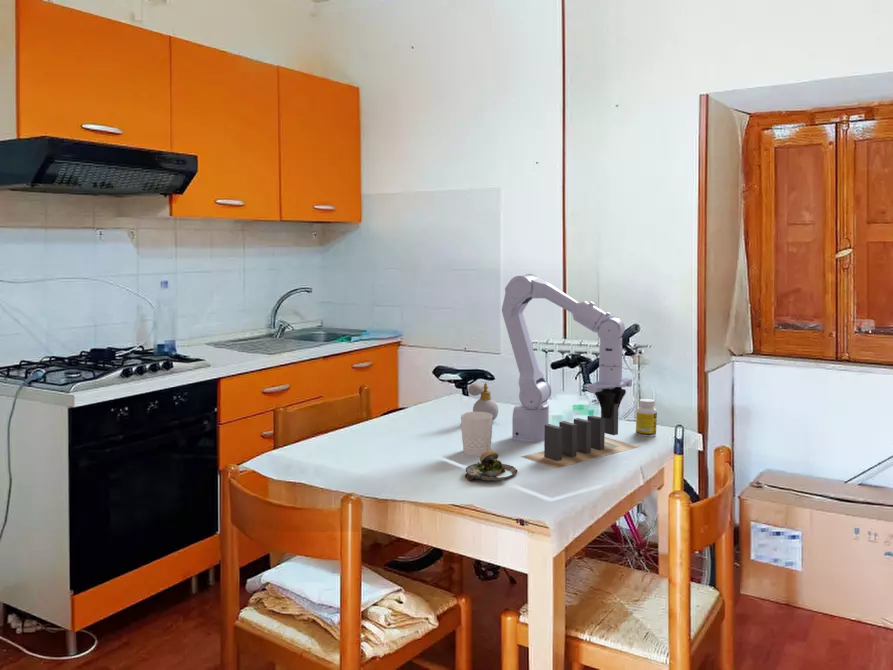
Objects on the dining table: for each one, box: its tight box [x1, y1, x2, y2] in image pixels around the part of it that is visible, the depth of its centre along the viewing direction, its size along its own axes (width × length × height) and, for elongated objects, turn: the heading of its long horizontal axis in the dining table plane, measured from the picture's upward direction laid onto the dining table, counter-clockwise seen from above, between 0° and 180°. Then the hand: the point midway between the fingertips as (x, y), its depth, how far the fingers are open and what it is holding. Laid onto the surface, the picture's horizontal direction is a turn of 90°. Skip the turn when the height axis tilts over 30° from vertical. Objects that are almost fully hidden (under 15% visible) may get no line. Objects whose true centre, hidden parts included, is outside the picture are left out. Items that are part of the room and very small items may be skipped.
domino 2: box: [558, 420, 577, 457], centre depth 191 cm, size 2×4×8 cm, turn 36°
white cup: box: [460, 411, 493, 457], centre depth 194 cm, size 8×8×10 cm
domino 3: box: [573, 417, 591, 454], centre depth 194 cm, size 2×4×8 cm, turn 37°
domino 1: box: [543, 423, 562, 461], centre depth 188 cm, size 2×4×8 cm, turn 37°
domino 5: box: [600, 403, 620, 436], centre depth 199 cm, size 2×4×8 cm, turn 37°
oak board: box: [520, 436, 641, 469], centre depth 194 cm, size 30×12×1 cm, turn 127°
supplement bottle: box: [635, 398, 658, 438], centre depth 211 cm, size 5×5×10 cm
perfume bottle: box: [467, 382, 499, 422], centre depth 226 cm, size 8×10×12 cm
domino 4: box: [586, 414, 606, 450], centre depth 196 cm, size 2×4×8 cm, turn 37°
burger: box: [464, 443, 518, 482], centre depth 176 cm, size 12×12×8 cm
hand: (609, 417), depth 199 cm, fingers closed on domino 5, 1 cm apart
